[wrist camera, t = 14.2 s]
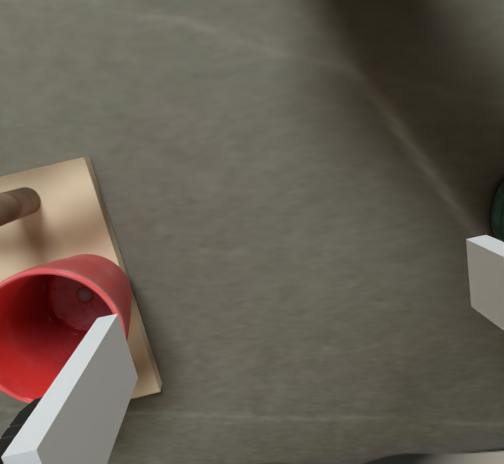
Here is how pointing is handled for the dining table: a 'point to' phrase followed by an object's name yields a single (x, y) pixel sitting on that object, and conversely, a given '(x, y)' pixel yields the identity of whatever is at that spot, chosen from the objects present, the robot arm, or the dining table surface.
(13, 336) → the flower pot
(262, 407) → the dining table surface
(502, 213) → the coffee jar
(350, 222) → the dining table surface
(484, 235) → the robot arm
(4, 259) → the rack
